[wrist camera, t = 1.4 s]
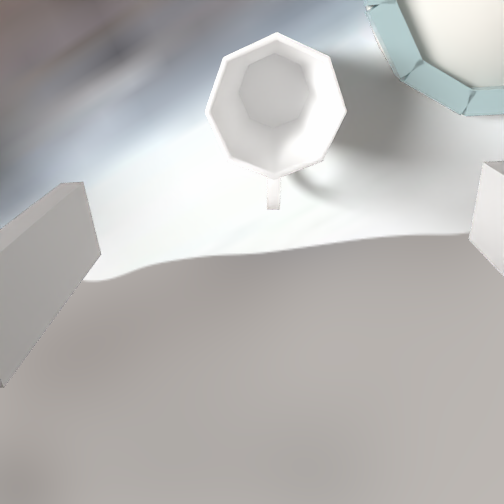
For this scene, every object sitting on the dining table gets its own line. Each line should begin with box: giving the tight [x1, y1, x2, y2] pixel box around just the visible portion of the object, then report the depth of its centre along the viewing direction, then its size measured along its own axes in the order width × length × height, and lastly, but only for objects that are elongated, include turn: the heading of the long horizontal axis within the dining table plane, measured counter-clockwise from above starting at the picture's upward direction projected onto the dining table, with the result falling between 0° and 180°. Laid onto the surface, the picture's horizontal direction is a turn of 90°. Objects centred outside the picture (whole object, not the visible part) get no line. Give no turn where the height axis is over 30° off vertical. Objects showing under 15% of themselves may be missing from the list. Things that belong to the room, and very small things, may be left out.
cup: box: [205, 32, 347, 210], centre depth 26 cm, size 7×10×8 cm
